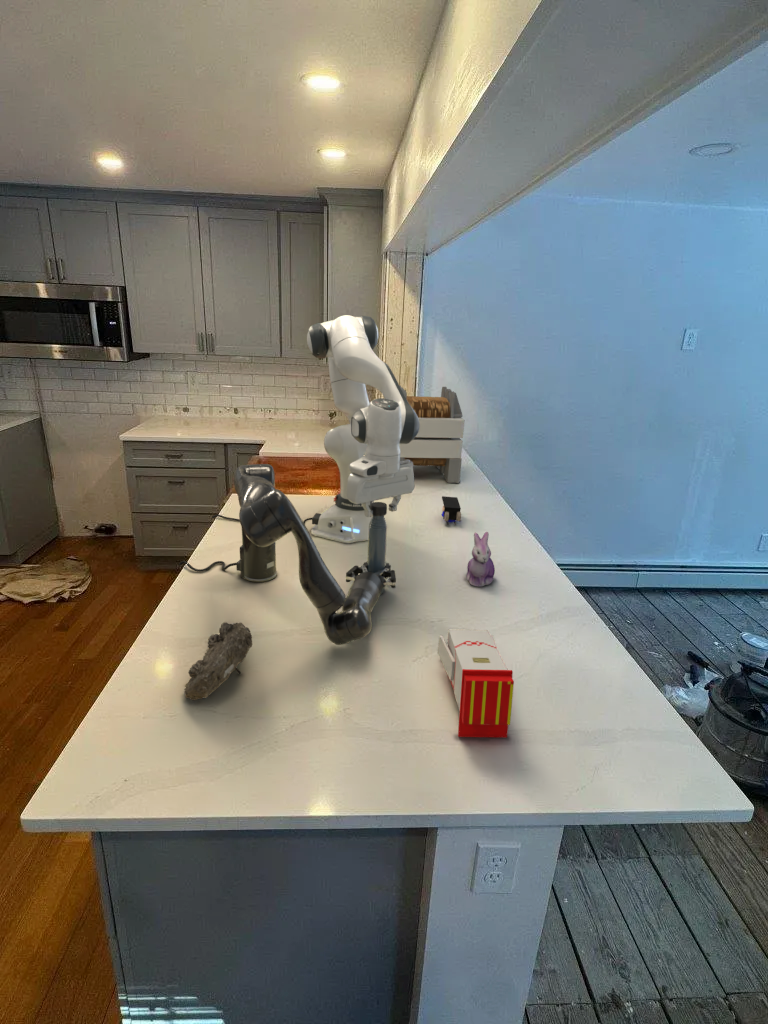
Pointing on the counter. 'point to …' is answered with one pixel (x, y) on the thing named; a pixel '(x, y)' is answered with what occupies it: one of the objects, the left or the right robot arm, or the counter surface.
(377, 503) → the cap
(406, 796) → the counter surface
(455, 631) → the toy
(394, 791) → the counter surface
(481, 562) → the figurine
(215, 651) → the fossil
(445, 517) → the figurine character
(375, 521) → the bottle
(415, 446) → the transformer
